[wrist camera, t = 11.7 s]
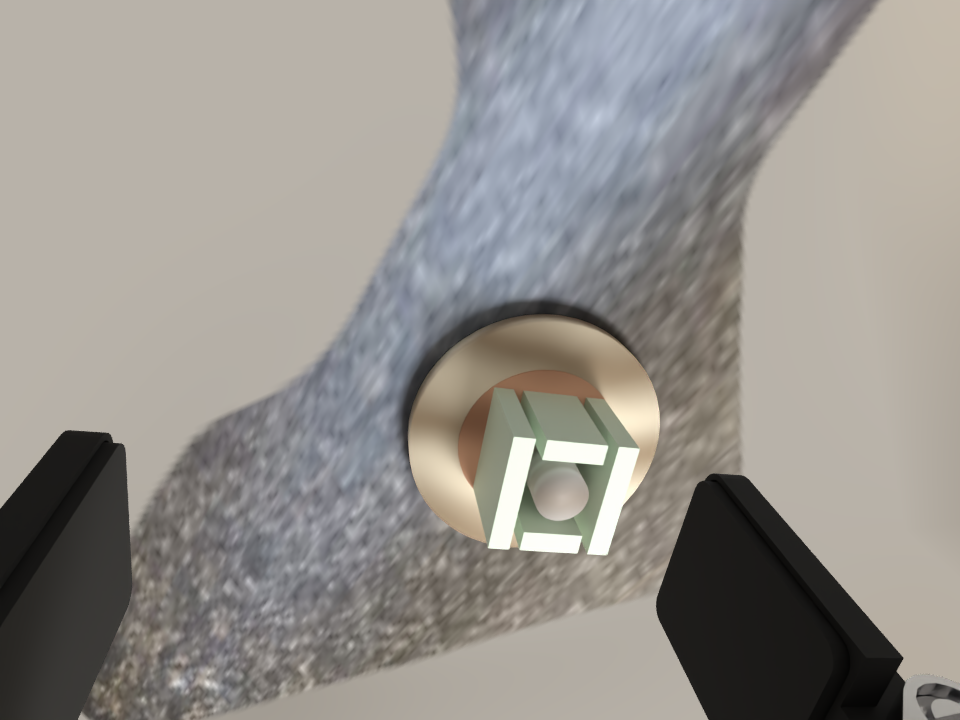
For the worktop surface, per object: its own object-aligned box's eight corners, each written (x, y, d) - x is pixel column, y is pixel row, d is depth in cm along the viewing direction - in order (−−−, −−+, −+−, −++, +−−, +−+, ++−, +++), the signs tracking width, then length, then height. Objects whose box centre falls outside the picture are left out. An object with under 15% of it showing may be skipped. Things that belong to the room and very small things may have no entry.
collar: (494, 387, 40) (513, 436, 34) (604, 399, 41) (639, 448, 36) (473, 487, 42) (488, 548, 37) (577, 495, 44) (606, 555, 38)
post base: (429, 297, 39) (441, 344, 32) (680, 331, 42) (740, 381, 35) (391, 525, 45) (395, 607, 38) (615, 540, 48) (656, 617, 41)
